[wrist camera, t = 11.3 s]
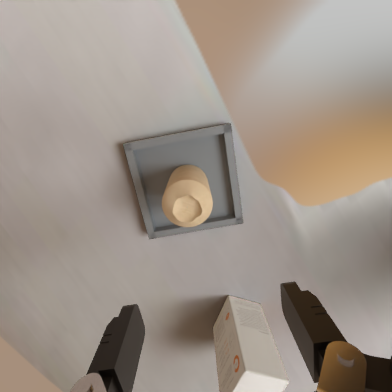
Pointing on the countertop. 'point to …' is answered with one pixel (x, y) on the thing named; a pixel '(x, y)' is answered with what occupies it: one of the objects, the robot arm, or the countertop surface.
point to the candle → (187, 197)
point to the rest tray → (177, 156)
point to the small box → (246, 350)
